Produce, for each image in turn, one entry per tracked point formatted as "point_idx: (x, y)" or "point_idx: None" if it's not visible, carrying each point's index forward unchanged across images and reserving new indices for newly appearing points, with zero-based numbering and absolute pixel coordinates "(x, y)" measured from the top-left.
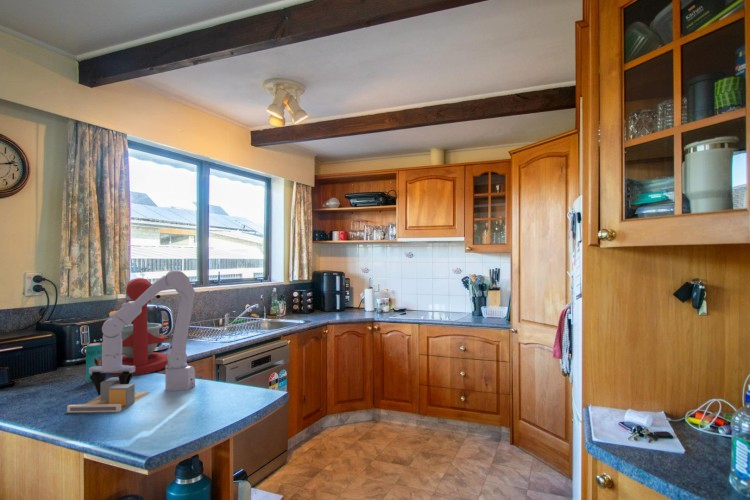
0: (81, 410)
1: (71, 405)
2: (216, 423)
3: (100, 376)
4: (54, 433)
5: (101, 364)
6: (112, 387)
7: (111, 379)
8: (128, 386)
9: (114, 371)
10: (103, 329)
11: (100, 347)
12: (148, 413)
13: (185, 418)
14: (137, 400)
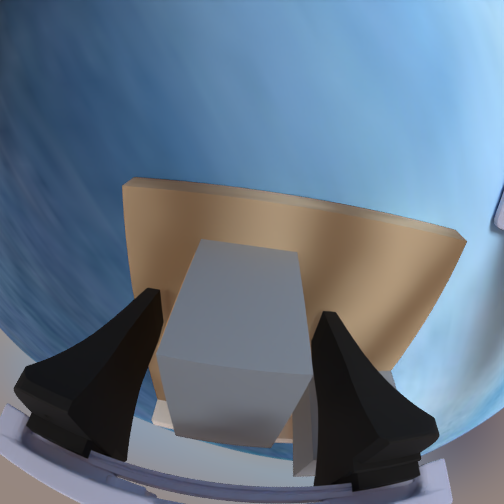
0: None
1: (166, 426)
2: (500, 404)
3: (114, 431)
4: (222, 446)
5: None
6: (311, 474)
7: (210, 409)
8: None
9: (250, 500)
10: None
11: None
12: (424, 396)
13: (478, 402)
14: (402, 354)
